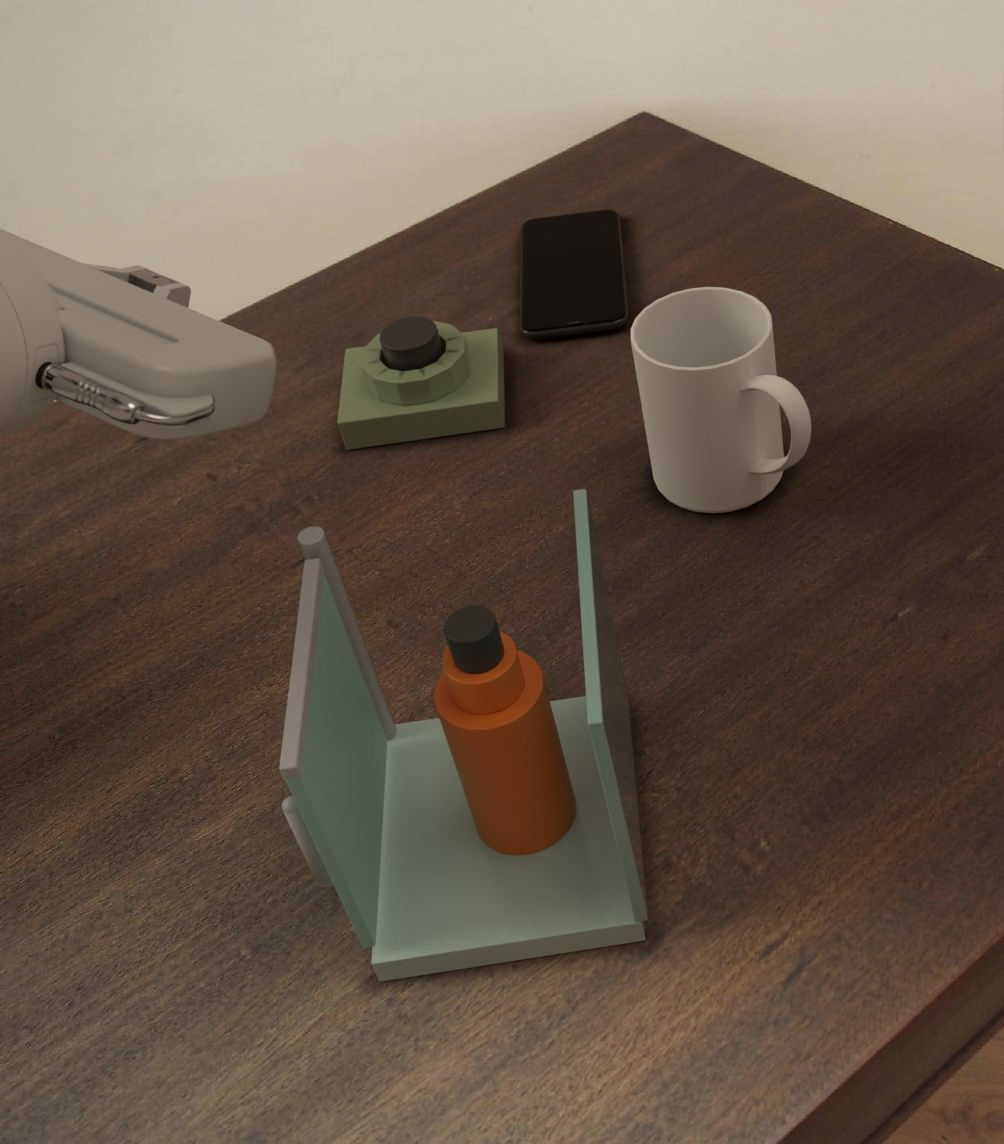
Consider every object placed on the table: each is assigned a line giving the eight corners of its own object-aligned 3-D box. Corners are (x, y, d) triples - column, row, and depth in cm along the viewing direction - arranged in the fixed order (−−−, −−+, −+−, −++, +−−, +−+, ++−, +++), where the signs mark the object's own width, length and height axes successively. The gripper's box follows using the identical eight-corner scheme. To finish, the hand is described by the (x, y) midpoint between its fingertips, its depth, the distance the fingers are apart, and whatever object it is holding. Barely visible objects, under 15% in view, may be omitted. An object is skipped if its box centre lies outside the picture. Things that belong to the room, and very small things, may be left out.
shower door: (335, 953, 69) (248, 774, 60) (351, 745, 77) (277, 563, 69) (377, 946, 69) (296, 766, 60) (388, 740, 78) (319, 557, 69)
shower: (365, 984, 70) (266, 772, 59) (381, 744, 80) (298, 527, 70) (652, 939, 70) (602, 721, 60) (631, 707, 81) (585, 486, 70)
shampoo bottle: (475, 862, 72) (409, 673, 63) (476, 782, 76) (413, 591, 67) (578, 847, 73) (527, 655, 64) (574, 767, 76) (525, 575, 67)
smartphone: (521, 228, 115) (520, 344, 104) (519, 218, 115) (518, 334, 104) (621, 215, 116) (630, 330, 105) (619, 205, 115) (629, 319, 104)
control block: (346, 450, 98) (328, 399, 95) (353, 375, 104) (337, 325, 101) (505, 428, 98) (492, 376, 96) (504, 354, 104) (492, 303, 101)
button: (384, 376, 97) (377, 353, 96) (387, 343, 100) (380, 320, 98) (442, 368, 97) (436, 345, 96) (443, 335, 100) (437, 312, 99)
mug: (627, 473, 94) (601, 328, 87) (727, 413, 98) (710, 270, 90) (759, 571, 87) (743, 423, 80) (862, 503, 91) (855, 355, 83)
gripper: (171, 359, 62) (357, 306, 75) (-239, 183, 66) (5, 160, 78) (148, 500, 65) (333, 425, 77) (-245, 323, 68) (-8, 279, 81)
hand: (165, 291), depth 78 cm, fingers closed
